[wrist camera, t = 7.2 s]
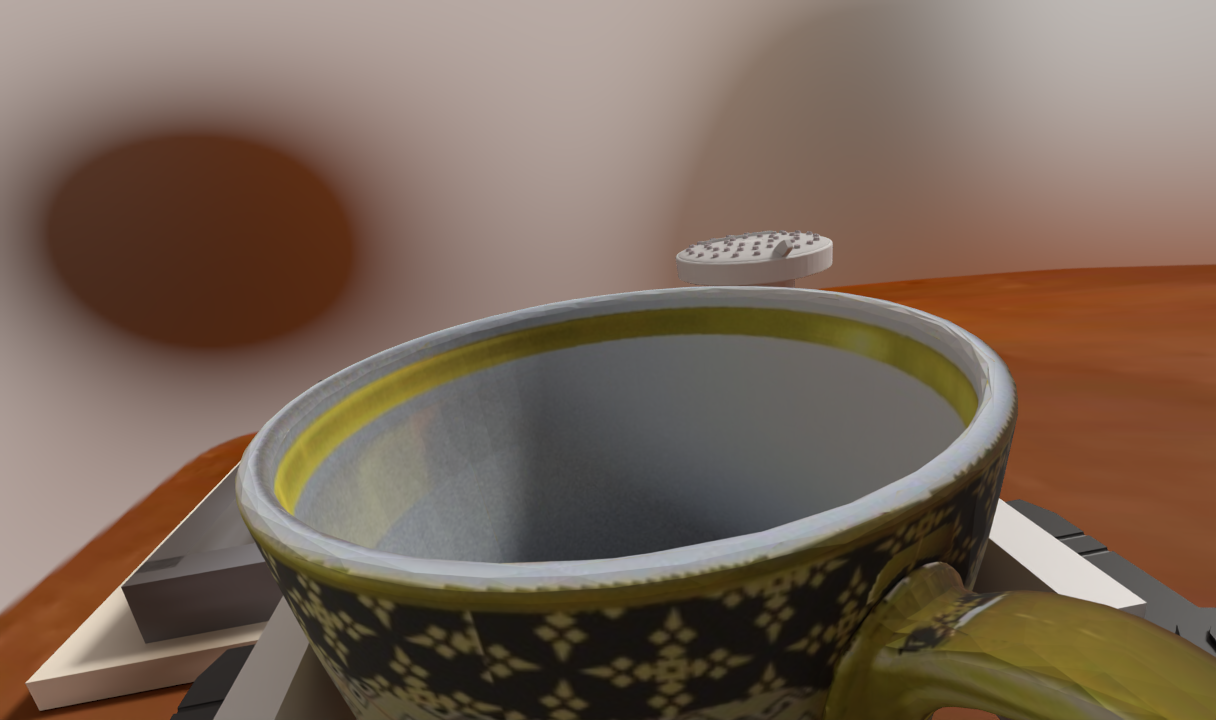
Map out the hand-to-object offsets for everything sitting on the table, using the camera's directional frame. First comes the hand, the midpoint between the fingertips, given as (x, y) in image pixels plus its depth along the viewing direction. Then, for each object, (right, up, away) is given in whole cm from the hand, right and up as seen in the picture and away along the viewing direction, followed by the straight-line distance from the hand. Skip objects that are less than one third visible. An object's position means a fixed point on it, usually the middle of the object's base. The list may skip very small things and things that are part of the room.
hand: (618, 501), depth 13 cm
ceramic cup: (+2, -7, -2) cm, 8 cm away
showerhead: (+10, +4, +28) cm, 30 cm away
